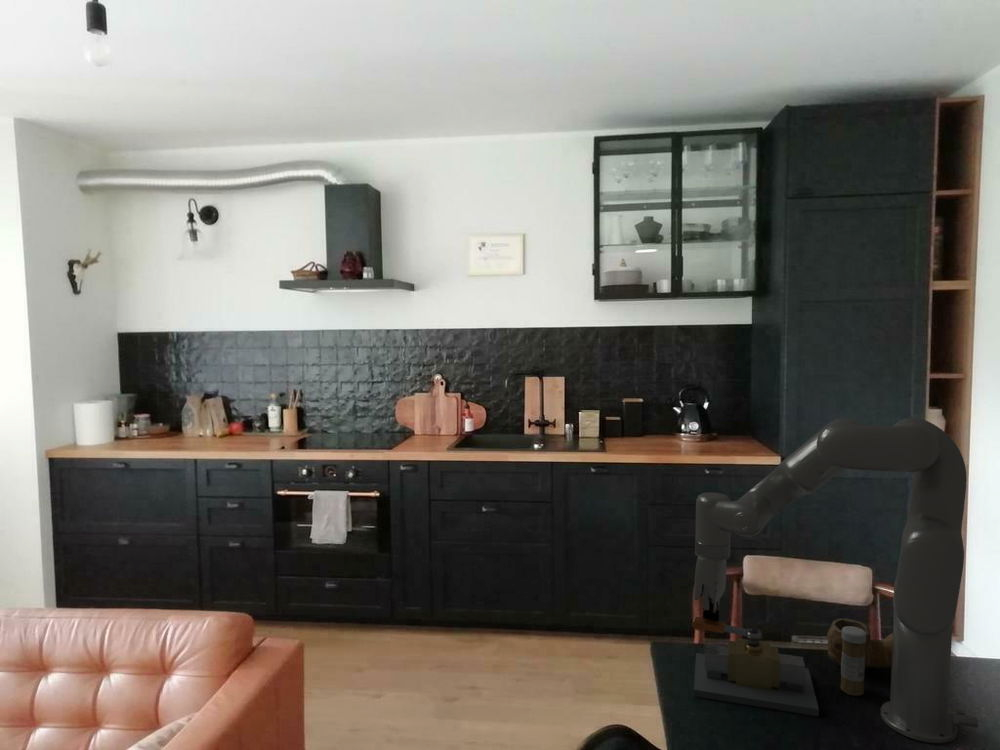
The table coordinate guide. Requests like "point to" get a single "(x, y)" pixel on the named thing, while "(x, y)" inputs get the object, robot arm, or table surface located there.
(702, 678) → the valve board
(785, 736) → the table surface
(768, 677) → the valve
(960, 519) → the robot arm
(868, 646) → the pipe
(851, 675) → the sprinkles bottle
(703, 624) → the lever
